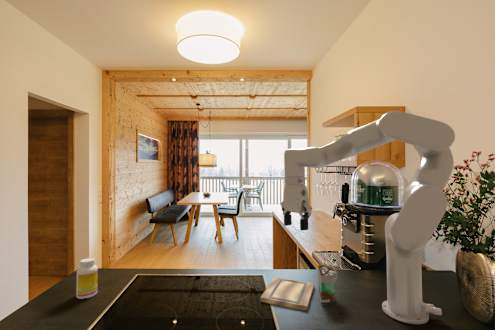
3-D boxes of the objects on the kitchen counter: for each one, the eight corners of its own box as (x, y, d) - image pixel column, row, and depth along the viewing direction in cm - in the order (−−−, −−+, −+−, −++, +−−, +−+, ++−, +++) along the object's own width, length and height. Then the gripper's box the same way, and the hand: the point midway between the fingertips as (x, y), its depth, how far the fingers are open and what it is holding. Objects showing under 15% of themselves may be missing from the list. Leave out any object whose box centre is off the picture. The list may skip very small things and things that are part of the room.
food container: (340, 308, 83) (340, 277, 83) (321, 306, 84) (321, 276, 84) (335, 291, 95) (335, 264, 95) (318, 289, 96) (318, 263, 96)
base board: (314, 287, 98) (314, 282, 98) (307, 310, 81) (307, 305, 82) (274, 280, 104) (274, 276, 104) (260, 301, 87) (260, 296, 88)
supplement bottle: (100, 294, 93) (100, 259, 93) (79, 301, 88) (79, 264, 88) (94, 289, 97) (94, 255, 98) (74, 295, 92) (74, 260, 93)
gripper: (318, 181, 89) (319, 230, 88) (288, 181, 104) (289, 222, 103) (301, 182, 85) (303, 233, 85) (273, 181, 101) (274, 224, 100)
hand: (295, 227), depth 94 cm, fingers open, 9 cm apart
